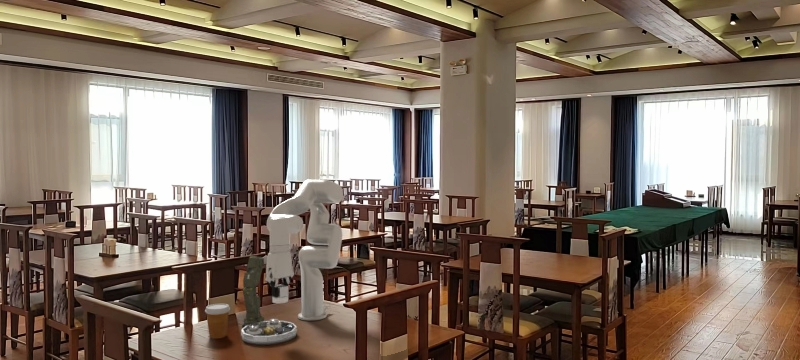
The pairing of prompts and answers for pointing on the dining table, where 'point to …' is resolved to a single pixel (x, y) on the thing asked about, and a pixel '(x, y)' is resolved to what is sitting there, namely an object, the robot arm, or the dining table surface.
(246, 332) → the tray
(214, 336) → the disposable coffee cup
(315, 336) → the dining table surface
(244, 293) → the mechanical leg
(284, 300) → the grey hollow boxy piece
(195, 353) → the dining table surface
